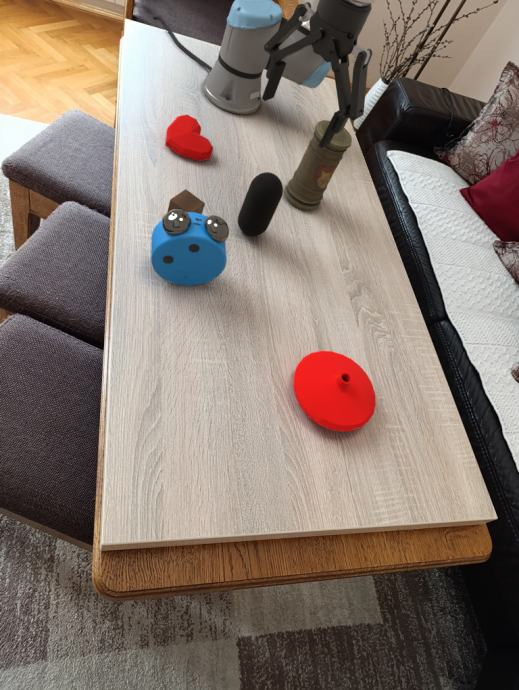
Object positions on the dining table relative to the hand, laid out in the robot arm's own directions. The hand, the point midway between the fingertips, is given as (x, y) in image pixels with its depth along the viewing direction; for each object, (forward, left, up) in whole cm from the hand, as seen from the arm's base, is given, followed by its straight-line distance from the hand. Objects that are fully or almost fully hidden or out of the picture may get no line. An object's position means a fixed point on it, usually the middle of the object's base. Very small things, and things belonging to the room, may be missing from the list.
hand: (295, 121), depth 89 cm
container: (-4, +17, -25) cm, 31 cm away
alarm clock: (+9, -22, -25) cm, 34 cm away
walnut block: (-4, -15, -25) cm, 29 cm away
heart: (-25, -4, -25) cm, 36 cm away
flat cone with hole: (+42, -9, -25) cm, 50 cm away
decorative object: (+2, -3, -25) cm, 25 cm away
